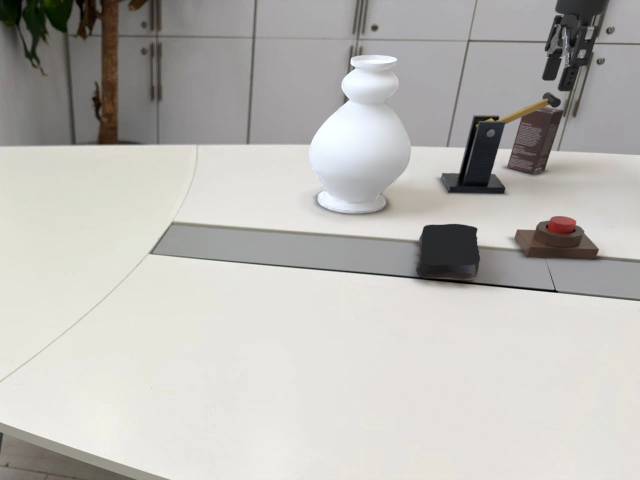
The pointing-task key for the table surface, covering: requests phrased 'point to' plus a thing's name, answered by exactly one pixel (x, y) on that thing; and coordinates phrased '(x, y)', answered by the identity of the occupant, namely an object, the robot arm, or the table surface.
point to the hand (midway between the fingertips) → (555, 85)
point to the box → (535, 140)
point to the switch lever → (532, 108)
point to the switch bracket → (478, 159)
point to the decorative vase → (361, 140)
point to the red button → (561, 224)
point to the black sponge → (448, 252)
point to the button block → (555, 243)
